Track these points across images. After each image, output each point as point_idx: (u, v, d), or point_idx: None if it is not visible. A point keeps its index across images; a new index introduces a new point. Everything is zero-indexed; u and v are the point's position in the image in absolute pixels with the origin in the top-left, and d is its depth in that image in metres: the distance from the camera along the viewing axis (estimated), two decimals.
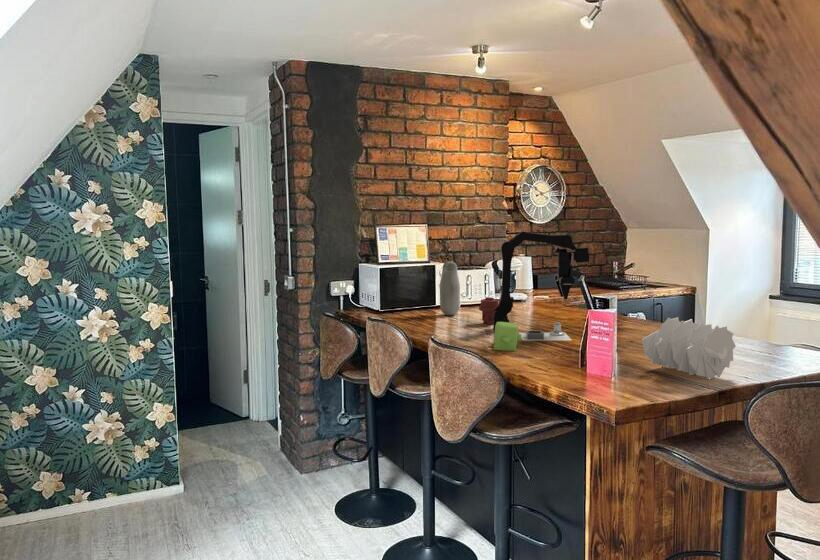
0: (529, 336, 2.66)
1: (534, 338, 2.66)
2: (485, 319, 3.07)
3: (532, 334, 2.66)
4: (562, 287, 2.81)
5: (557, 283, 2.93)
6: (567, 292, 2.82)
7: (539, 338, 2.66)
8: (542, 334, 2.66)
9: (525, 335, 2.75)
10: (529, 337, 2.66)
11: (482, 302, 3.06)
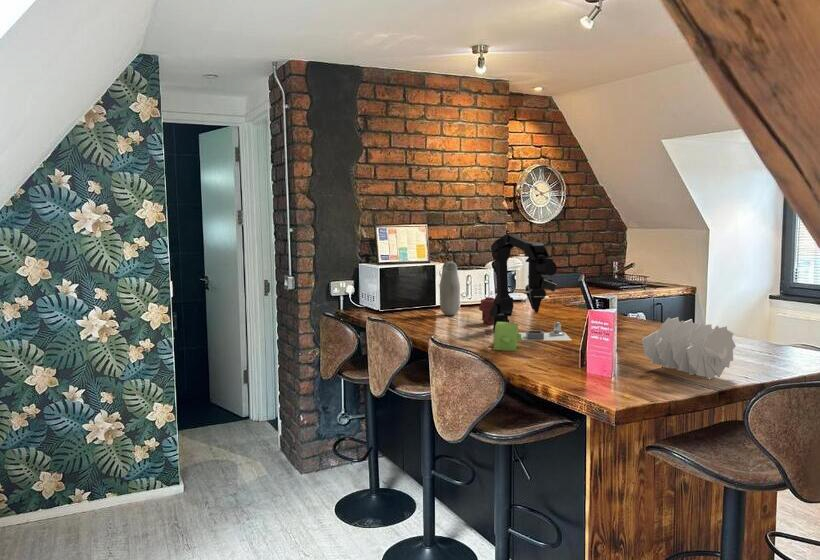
0: (529, 336, 2.66)
1: (534, 338, 2.66)
2: (485, 319, 3.07)
3: (532, 334, 2.66)
4: (532, 300, 2.62)
5: (528, 295, 2.73)
6: (538, 305, 2.62)
7: (539, 338, 2.66)
8: (542, 334, 2.66)
9: (525, 335, 2.75)
10: (529, 337, 2.66)
11: (482, 302, 3.06)
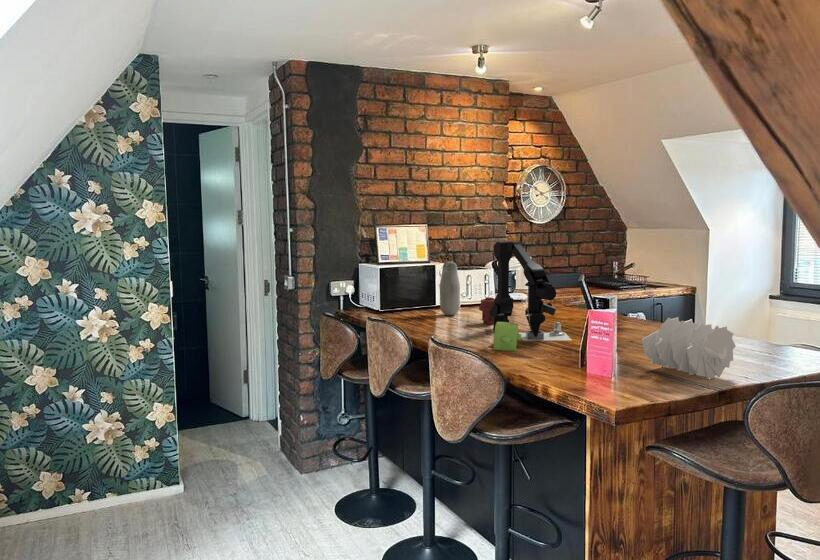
0: (529, 336, 2.66)
1: (534, 338, 2.66)
2: (485, 319, 3.07)
3: (532, 334, 2.66)
4: (531, 324, 2.64)
5: (528, 319, 2.73)
6: (537, 329, 2.65)
7: (539, 338, 2.66)
8: (542, 334, 2.66)
9: (525, 335, 2.75)
10: (529, 337, 2.66)
11: (482, 302, 3.06)
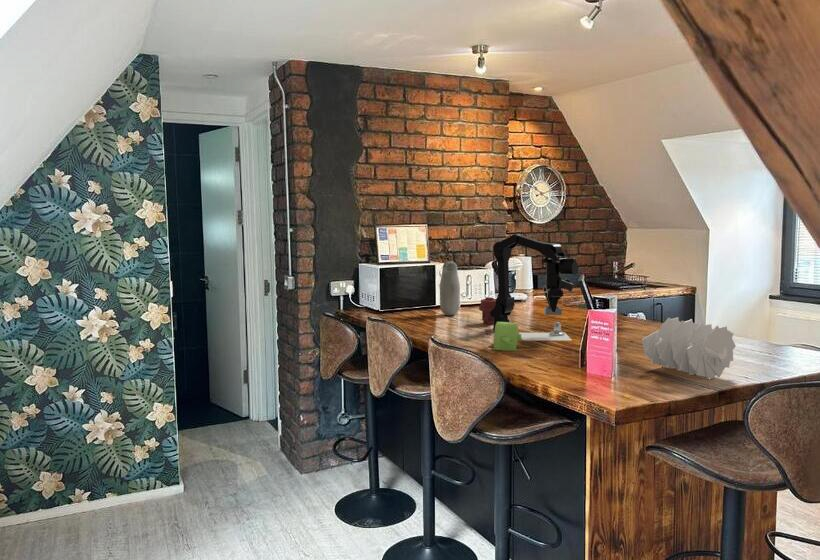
0: (547, 311, 2.71)
1: (552, 313, 2.71)
2: (485, 319, 3.07)
3: (550, 309, 2.71)
4: (549, 299, 2.68)
5: (546, 295, 2.77)
6: (555, 304, 2.69)
7: (557, 313, 2.71)
8: (560, 309, 2.70)
9: (525, 335, 2.75)
10: (547, 312, 2.71)
11: (482, 302, 3.06)
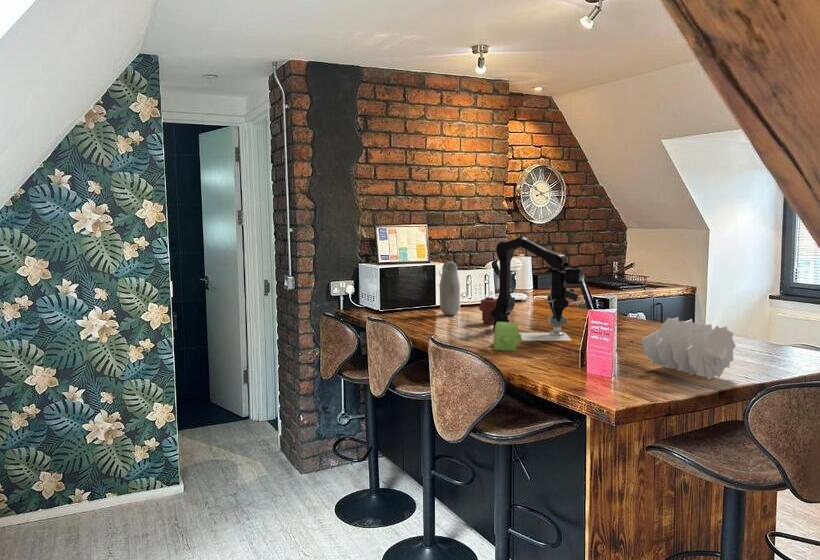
0: (552, 321, 2.73)
1: (557, 323, 2.73)
2: (485, 319, 3.07)
3: (555, 319, 2.73)
4: (555, 309, 2.70)
5: (551, 305, 2.80)
6: (560, 314, 2.71)
7: (562, 323, 2.73)
8: (565, 319, 2.73)
9: (525, 335, 2.75)
10: (552, 322, 2.73)
11: (482, 302, 3.06)
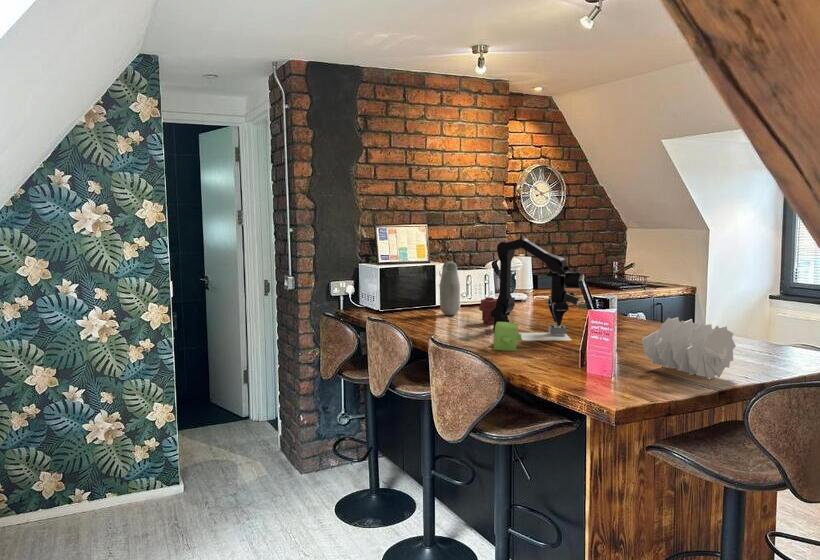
0: (552, 331, 2.74)
1: (557, 333, 2.73)
2: (485, 319, 3.07)
3: (555, 329, 2.73)
4: (555, 313, 2.69)
5: (550, 308, 2.81)
6: (560, 318, 2.70)
7: (562, 333, 2.73)
8: (565, 329, 2.73)
9: (525, 335, 2.75)
10: (552, 332, 2.74)
11: (482, 302, 3.06)
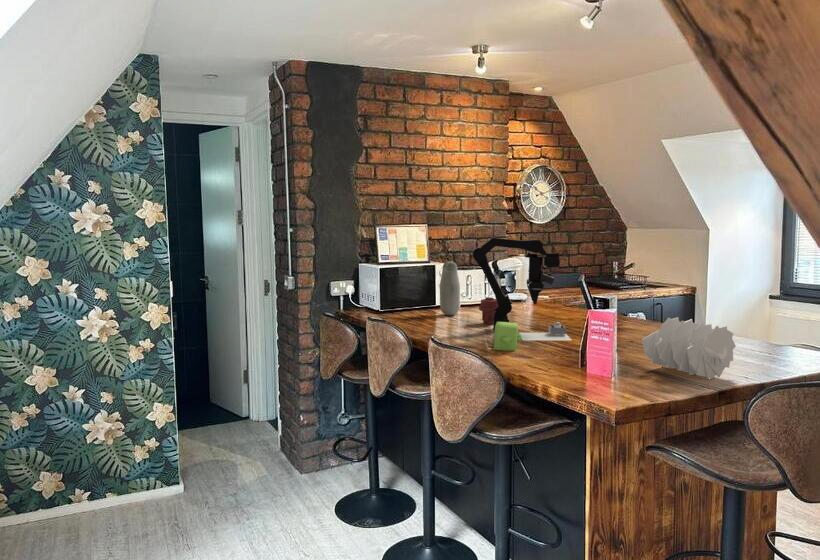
0: (552, 331, 2.74)
1: (557, 333, 2.73)
2: (485, 319, 3.07)
3: (555, 329, 2.73)
4: (531, 292, 2.83)
5: (529, 288, 2.94)
6: (536, 297, 2.83)
7: (562, 333, 2.73)
8: (565, 329, 2.73)
9: (525, 335, 2.75)
10: (552, 332, 2.74)
11: (482, 302, 3.06)
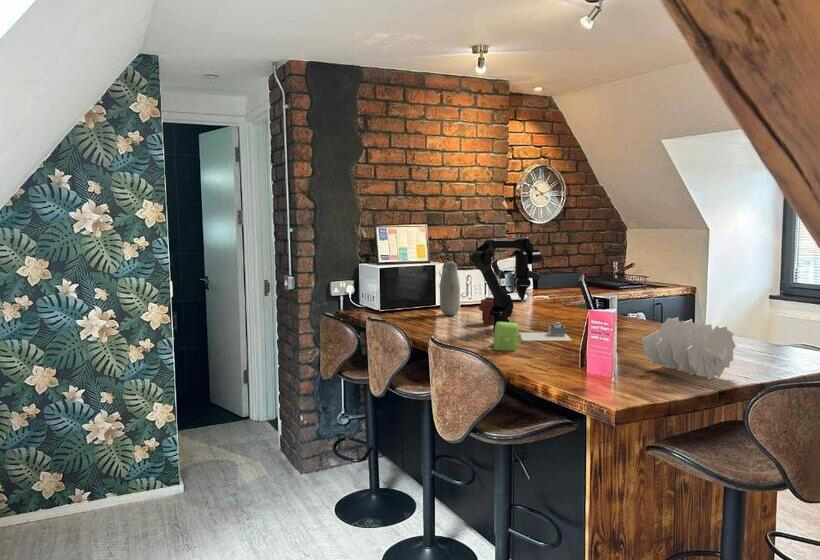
0: (552, 331, 2.74)
1: (557, 333, 2.73)
2: (485, 319, 3.07)
3: (555, 329, 2.73)
4: (518, 288, 2.91)
5: (515, 284, 3.03)
6: (523, 293, 2.92)
7: (562, 333, 2.73)
8: (565, 329, 2.73)
9: (525, 335, 2.75)
10: (552, 332, 2.74)
11: (482, 302, 3.06)
